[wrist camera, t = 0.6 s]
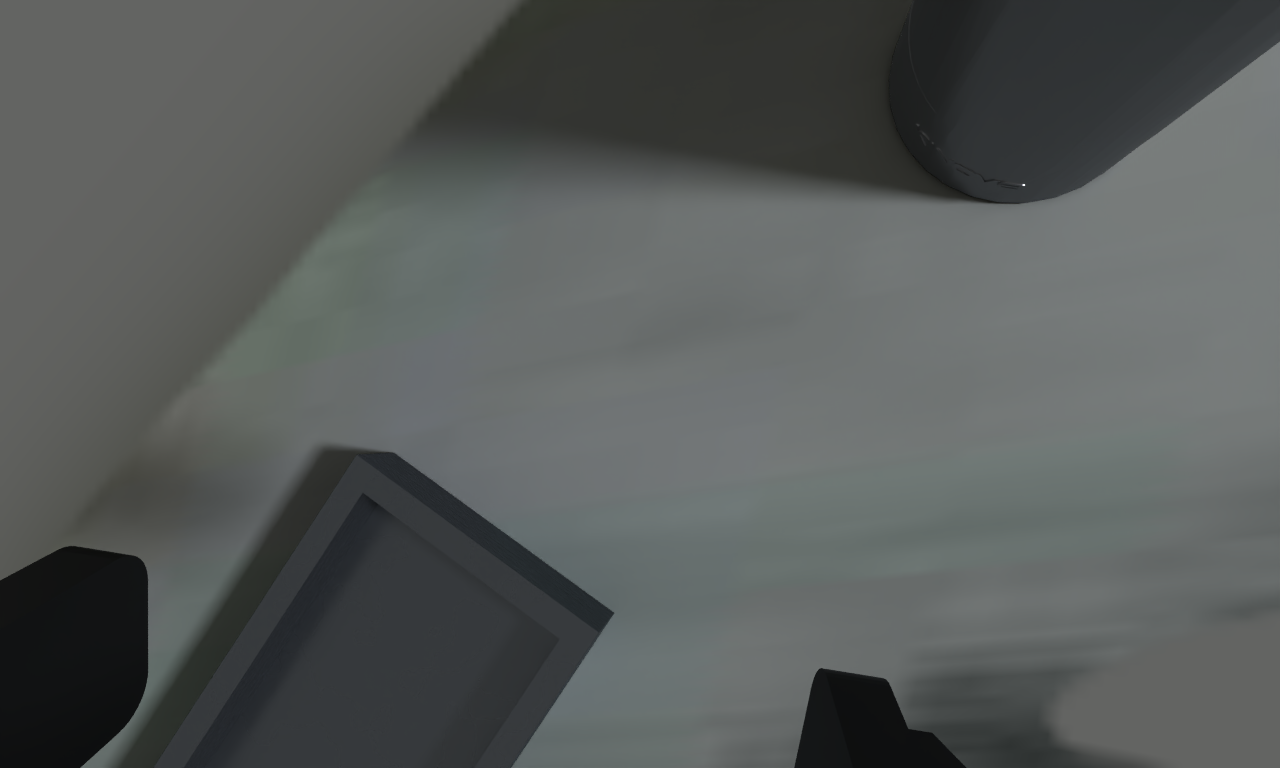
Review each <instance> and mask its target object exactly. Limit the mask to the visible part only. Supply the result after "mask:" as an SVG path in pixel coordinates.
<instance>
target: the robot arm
mask: <svg viewBox="0 0 1280 768" xmlns="http://www.w3.org/2000/svg"><path fill="white" fill-rule="evenodd" d="M1278 42H1280V0H913V1H912V4H911V7H910V10H909V13H908V15H907V18H906V21H905V24H904V26H903V29H902V32H901V35H900V38H899V40H898V43H897V46H896V49H895V51H894V54H893V59H892V65H891V70H890V76H889V92H890V106H891V110H892V113H893V117H894V120H895V124H896V127H897V130H898V132H899V133H900V135H901V137H902V139H903V141H904V142H905V144H906V146H907V148H908V150H909V151H910V152H911V154H912V155H913V156H914V157H915V158H916V159H917V160H918V161H919V163H920V164H921V165H922V166H923V167H924V168H925V169H926V170H927V171H928V172H930V173H931V174H932V175H934V176H935V177H936V178H938V179H939V180H941V181H942V182H943V183H945V184H946V185H948V186H950V187H952V188H954V189H957V190H959V191H961V192H963V193H966V194H968V195H970V196H973V197H977V198H982V199H986V200H991V201H995V202H1012V203H1028V202H1034V201H1039V200H1045V199H1050V198H1055V197H1058V196H1060V195H1063V194H1065V193H1068V192H1071V191H1073V190H1076V189H1078V188H1081V187H1082V186H1084V185H1085V184H1087V183H1089V182H1090V181H1092V180H1093V179H1095V178H1096V177H1098V176H1099V175H1101V174H1103V173H1104V172H1106V171H1107V170H1108V169H1110V168H1111V167H1112V166H1114V165H1115V164H1116V163H1118V162H1119V161H1120V160H1122V159H1123V158H1124V157H1126V156H1127V155H1128V154H1130V153H1131V152H1132V151H1134V150H1135V149H1136V148H1138V147H1139V146H1140V145H1142V144H1143V143H1144V142H1146V141H1147V140H1149V139H1150V138H1151V137H1153V136H1154V135H1156V134H1157V133H1159V132H1160V131H1161V130H1163V129H1164V128H1165V127H1167V126H1168V125H1169V124H1171V123H1172V122H1173V121H1175V120H1176V119H1177V118H1179V117H1180V116H1181V115H1183V114H1184V113H1185V112H1187V111H1188V110H1189V109H1191V108H1192V107H1193V106H1195V105H1196V104H1197V103H1199V102H1200V101H1201V100H1203V99H1204V98H1205V97H1206V96H1208V95H1209V94H1210V93H1212V92H1213V91H1214V90H1216V89H1217V88H1218V87H1220V86H1221V85H1222V84H1224V83H1225V82H1226V81H1228V80H1229V79H1230V78H1232V77H1233V76H1234V75H1236V74H1237V73H1238V72H1240V71H1241V70H1242V69H1244V68H1245V67H1246V66H1248V65H1249V64H1250V63H1252V62H1253V61H1254V60H1256V59H1257V58H1258V57H1260V56H1261V55H1262V54H1264V53H1265V52H1266V51H1268V50H1269V49H1270V48H1272V47H1273V46H1274V45H1276V44H1277V43H1278ZM147 678H148V575H147V570H146V567H145V565H144V563H143V561H142V560H141V559H139V558H138V557H136V556H132V555H126V554H120V553H114V552H108V551H101V550H95V549H89V548H83V547H77V546H68V547H64V548H61V549H59V550H57V551H55V552H53V553H51V554H49V555H47V556H45V557H44V558H42V559H40V560H38V561H36V562H34V563H32V564H30V565H29V566H27V567H25V568H23V569H21V570H19V571H17V572H16V573H13V574H12V575H10V576H8V577H6V578H4V579H2V580H0V768H80V767H82V766H83V765H84V764H85V763H86V762H87V761H88V760H89V759H90V758H91V757H93V756H94V755H95V754H96V753H97V752H98V751H99V750H100V749H101V748H103V747H104V746H105V745H106V744H107V743H108V742H109V741H110V740H111V739H112V738H114V737H115V736H116V735H117V734H118V733H119V732H120V731H121V730H122V729H123V728H124V727H125V726H126V724H127V723H128V722H129V721H130V719H131V718H132V716H133V715H134V713H135V711H136V710H137V708H138V706H139V704H140V701H141V699H142V697H143V694H144V691H145V687H146V683H147ZM795 768H966V767H965V766H964V765H963V764H962V763H961V762H960V761H959V760H958V759H957V758H956V757H955V756H954V755H953V754H952V753H951V752H950V751H949V750H948V749H947V748H946V747H945V745H944V744H943V743H942V742H941V741H940V740H939V739H938V738H937V737H936V736H935V735H934V734H933V733H929V732H923V731H917V730H911V729H908V727H907V725H906V722H905V720H904V718H903V715H902V713H901V710H900V708H899V706H898V703H897V701H896V698H895V696H894V694H893V691H892V689H891V686H890V685H889V683H888V681H887V680H886V679H884V678H879V677H872V676H866V675H860V674H854V673H847V672H841V671H835V670H829V669H823V668H821V669H819V670H818V671H817V673H816V675H815V677H814V680H813V683H812V687H811V692H810V696H809V701H808V706H807V711H806V715H805V720H804V725H803V730H802V734H801V739H800V744H799V749H798V753H797V758H796V763H795Z"/></svg>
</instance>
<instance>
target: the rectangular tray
mask: <svg viewBox="0 0 1280 768" xmlns="http://www.w3.org/2000/svg"><path fill="white" fill-rule="evenodd" d="M613 614H614V612H612V611H611V610H609V609H608V608H607V607H605V606H604V605H603V604H601V603H600V602H598V601H597V600H596V599H594V598H593V597H592V596H590V595H589V594H587V593H586V592H585V591H583V590H582V589H581V588H579V587H578V586H576V585H575V584H574V583H572V582H571V581H570V580H568V579H567V578H565V577H564V576H563V575H561V574H560V573H559V572H557V571H556V570H554V569H553V568H552V567H550V566H549V565H548V564H546V563H545V562H543V561H542V560H541V559H539V558H538V557H537V556H535V555H534V554H532V553H531V552H530V551H528V550H527V549H526V548H524V547H523V546H521V545H520V544H519V543H517V542H516V541H515V540H513V539H512V538H510V537H509V536H508V535H506V534H505V533H504V532H502V531H501V530H499V529H498V528H497V527H495V526H494V525H493V524H491V523H490V522H488V521H487V520H486V519H484V518H483V517H482V516H480V515H479V514H477V513H476V512H475V511H473V510H472V509H471V508H469V507H468V506H466V505H465V504H464V503H462V502H461V501H460V500H458V499H457V498H455V497H454V496H453V495H451V494H450V493H449V492H447V491H446V490H444V489H443V488H442V487H440V486H439V485H438V484H436V483H435V482H433V481H432V480H431V479H429V478H428V477H427V476H425V475H424V474H422V473H421V472H420V471H418V470H417V469H416V468H414V467H413V466H411V465H410V464H409V463H407V462H406V461H405V460H403V459H402V458H400V457H399V456H398V455H396V454H395V453H378V454H359V455H356V456H355V458H354V459H353V461H352V462H351V464H350V466H349V467H348V469H347V470H346V472H345V473H344V475H343V476H342V478H341V479H340V481H339V482H338V484H337V486H336V487H335V489H334V490H333V492H332V493H331V495H330V496H329V498H328V499H327V501H326V503H325V504H324V506H323V507H322V509H321V510H320V512H319V513H318V515H317V516H316V518H315V519H314V521H313V523H312V524H311V526H310V527H309V529H308V530H307V532H306V533H305V535H304V536H303V538H302V539H301V541H300V543H299V544H298V546H297V547H296V549H295V550H294V552H293V553H292V555H291V556H290V558H289V560H288V561H287V563H286V564H285V566H284V567H283V569H282V570H281V572H280V573H279V575H278V576H277V578H276V580H275V581H274V583H273V584H272V586H271V587H270V589H269V590H268V592H267V593H266V595H265V596H264V598H263V600H262V601H261V603H260V604H259V606H258V607H257V609H256V610H255V612H254V613H253V615H252V616H251V618H250V620H249V621H248V623H247V624H246V626H245V627H244V629H243V630H242V632H241V633H240V635H239V637H238V638H237V640H236V641H235V643H234V644H233V646H232V647H231V649H230V650H229V652H228V653H227V655H226V657H225V658H224V660H223V661H222V663H221V664H220V666H219V667H218V669H217V670H216V672H215V673H214V675H213V677H212V678H211V680H210V681H209V683H208V684H207V686H206V687H205V689H204V690H203V692H202V694H201V695H200V697H199V698H198V700H197V701H196V703H195V704H194V706H193V707H192V709H191V710H190V712H189V714H188V715H187V717H186V718H185V720H184V721H183V723H182V724H181V726H180V727H179V729H178V730H177V732H176V734H175V735H174V737H173V738H172V740H171V741H170V743H169V744H168V746H167V747H166V749H165V750H164V752H163V754H162V755H161V757H160V758H159V760H158V761H157V763H156V764H155V766H154V767H153V768H511V767H512V766H513V764H514V763H515V761H516V760H517V758H518V757H519V755H520V754H521V752H522V751H523V749H524V748H525V746H526V745H527V743H528V742H529V740H530V739H531V737H532V736H533V734H534V733H535V731H536V730H537V728H538V727H539V725H540V724H541V722H542V721H543V719H544V718H545V716H546V715H547V713H548V712H549V710H550V709H551V707H552V706H553V704H554V703H555V701H556V700H557V698H558V697H559V695H560V694H561V692H562V691H563V689H564V688H565V686H566V685H567V683H568V682H569V680H570V679H571V677H572V676H573V674H574V673H575V671H576V670H577V668H578V667H579V665H580V664H581V662H582V661H583V659H584V658H585V656H586V655H587V653H588V652H589V650H590V649H591V647H592V646H593V644H594V643H595V641H596V640H597V638H598V637H599V635H600V634H601V632H602V631H603V629H604V628H605V626H606V625H607V623H608V622H609V620H610V619H611V617H612V616H613Z"/></svg>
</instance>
